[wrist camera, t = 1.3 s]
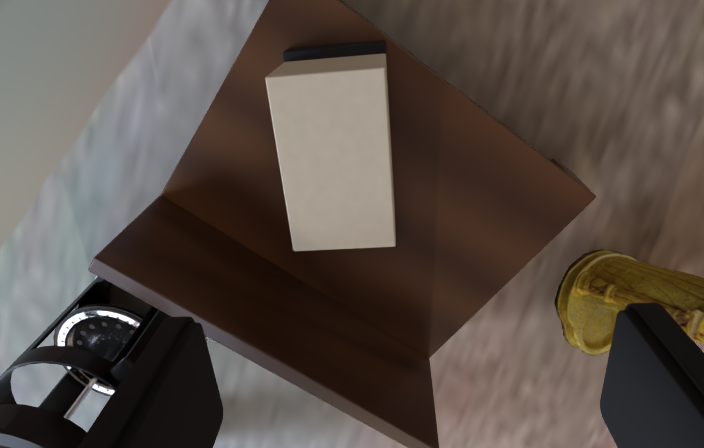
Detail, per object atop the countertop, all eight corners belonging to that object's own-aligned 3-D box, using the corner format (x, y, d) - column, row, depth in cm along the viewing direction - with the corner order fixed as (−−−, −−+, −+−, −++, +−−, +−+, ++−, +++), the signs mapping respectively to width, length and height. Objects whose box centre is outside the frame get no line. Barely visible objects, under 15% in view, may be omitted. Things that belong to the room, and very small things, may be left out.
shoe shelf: (302, -35, 29) (250, -45, 18) (574, 173, 33) (663, 265, 23) (177, 183, 36) (87, 270, 25) (418, 331, 40) (429, 460, 29)
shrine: (661, 183, 33) (848, 320, 20) (720, 260, 35) (923, 430, 22) (519, 278, 37) (594, 447, 24) (580, 342, 39) (680, 529, 26)
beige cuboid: (287, 48, 27) (262, 65, 22) (385, 39, 27) (384, 54, 21) (314, 239, 32) (299, 291, 27) (396, 235, 32) (398, 287, 26)
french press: (151, 366, 44) (-60, 709, 23) (67, 294, 41) (-261, 614, 20) (246, 303, 40) (95, 646, 19) (161, 219, 37) (-123, 519, 16)
